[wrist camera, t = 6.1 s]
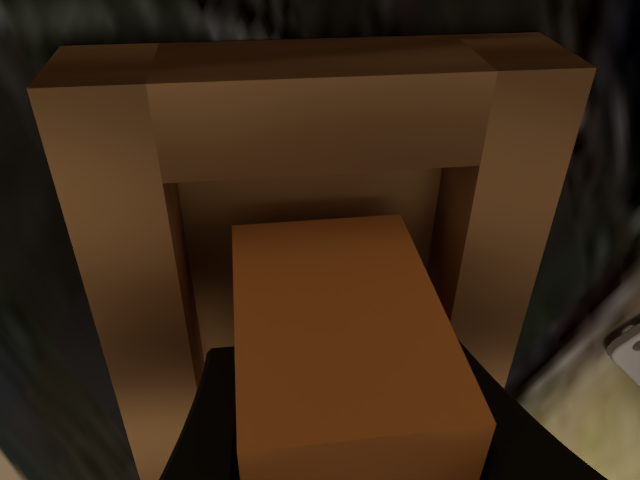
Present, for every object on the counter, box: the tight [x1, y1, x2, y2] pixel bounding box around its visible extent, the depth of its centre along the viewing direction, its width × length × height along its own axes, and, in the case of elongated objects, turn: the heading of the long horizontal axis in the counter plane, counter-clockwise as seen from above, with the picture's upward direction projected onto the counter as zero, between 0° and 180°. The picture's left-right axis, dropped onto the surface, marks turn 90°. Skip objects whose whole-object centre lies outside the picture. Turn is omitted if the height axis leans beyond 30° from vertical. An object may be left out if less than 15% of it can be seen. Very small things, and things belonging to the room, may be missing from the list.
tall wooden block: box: [232, 214, 496, 480], centre depth 13 cm, size 6×4×6 cm, turn 179°
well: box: [27, 32, 596, 480], centre depth 15 cm, size 12×10×2 cm
